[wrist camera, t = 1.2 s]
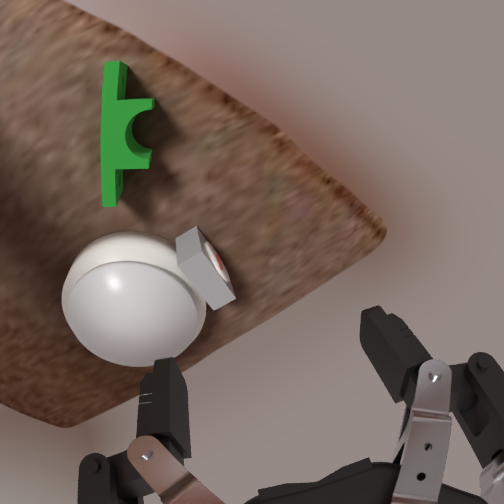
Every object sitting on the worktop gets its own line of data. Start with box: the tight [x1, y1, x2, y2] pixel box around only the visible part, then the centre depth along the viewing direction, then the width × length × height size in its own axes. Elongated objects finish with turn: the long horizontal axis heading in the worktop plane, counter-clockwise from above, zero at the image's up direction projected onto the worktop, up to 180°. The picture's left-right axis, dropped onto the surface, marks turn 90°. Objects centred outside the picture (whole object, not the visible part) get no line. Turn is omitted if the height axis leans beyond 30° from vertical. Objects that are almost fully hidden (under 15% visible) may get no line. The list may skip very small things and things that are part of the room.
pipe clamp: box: [101, 61, 155, 207], centre depth 22 cm, size 11×4×5 cm, turn 173°
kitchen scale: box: [62, 226, 236, 367], centre depth 29 cm, size 18×15×5 cm
